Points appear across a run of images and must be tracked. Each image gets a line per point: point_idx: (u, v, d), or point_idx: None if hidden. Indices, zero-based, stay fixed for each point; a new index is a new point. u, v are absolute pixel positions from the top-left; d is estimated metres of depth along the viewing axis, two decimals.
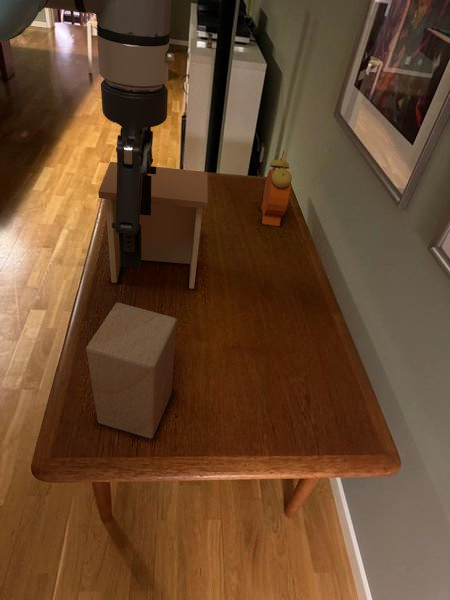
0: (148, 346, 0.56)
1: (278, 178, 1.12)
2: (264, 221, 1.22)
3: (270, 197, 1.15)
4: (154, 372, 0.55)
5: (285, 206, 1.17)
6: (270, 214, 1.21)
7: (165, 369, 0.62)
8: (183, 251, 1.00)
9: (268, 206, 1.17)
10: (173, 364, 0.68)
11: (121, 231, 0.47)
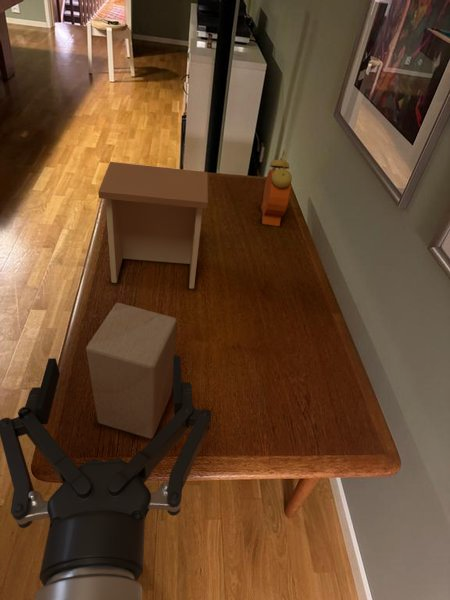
0: (148, 346, 0.56)
1: (278, 178, 1.12)
2: (264, 221, 1.22)
3: (270, 197, 1.15)
4: (154, 372, 0.55)
5: (285, 206, 1.17)
6: (270, 214, 1.21)
7: (165, 369, 0.62)
8: (183, 251, 1.00)
9: (268, 206, 1.17)
10: None
11: None
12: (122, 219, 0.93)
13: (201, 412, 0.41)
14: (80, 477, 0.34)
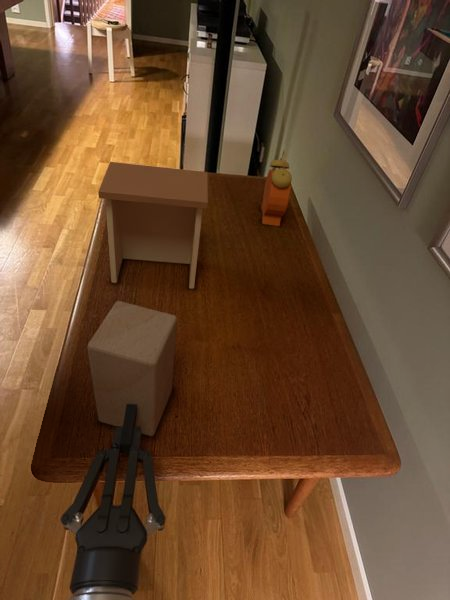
0: (149, 343, 0.56)
1: (278, 178, 1.12)
2: (264, 221, 1.22)
3: (270, 197, 1.15)
4: (155, 369, 0.55)
5: (285, 206, 1.17)
6: (270, 214, 1.21)
7: (166, 367, 0.62)
8: (183, 251, 1.00)
9: (268, 206, 1.17)
10: (173, 362, 0.68)
11: None
12: (122, 219, 0.93)
13: (143, 455, 0.56)
14: (99, 518, 0.48)
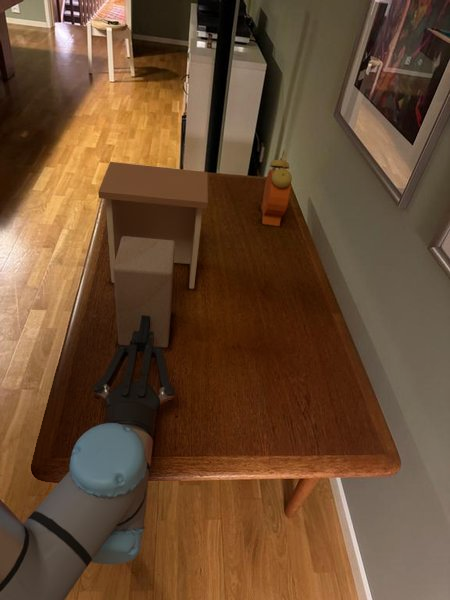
0: (162, 260, 0.70)
1: (278, 178, 1.12)
2: (264, 221, 1.22)
3: (270, 197, 1.15)
4: (171, 279, 0.70)
5: (285, 206, 1.17)
6: (270, 214, 1.21)
7: (172, 283, 0.77)
8: (183, 251, 1.00)
9: (268, 206, 1.17)
10: None
11: None
12: (122, 219, 0.93)
13: (156, 349, 0.69)
14: (123, 387, 0.62)
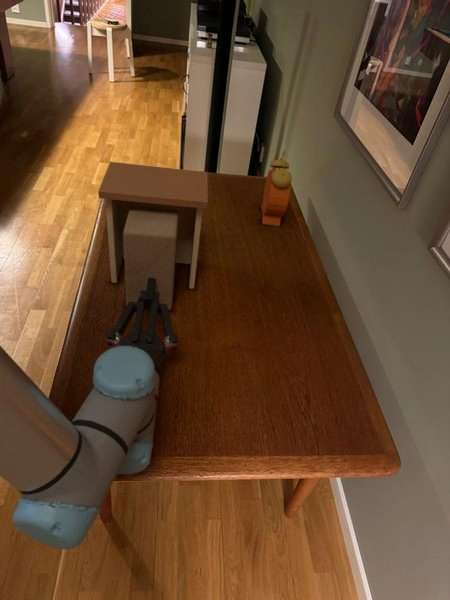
0: (167, 226, 0.78)
1: (278, 178, 1.12)
2: (264, 221, 1.22)
3: (270, 197, 1.15)
4: (175, 242, 0.78)
5: (285, 206, 1.17)
6: (270, 214, 1.21)
7: None
8: (183, 251, 1.00)
9: (268, 206, 1.17)
10: None
11: None
12: (122, 219, 0.93)
13: (161, 306, 0.77)
14: (132, 334, 0.70)
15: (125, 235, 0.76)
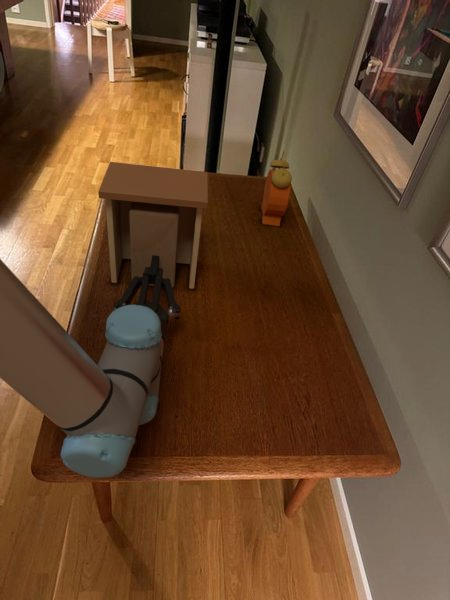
0: (170, 206, 0.84)
1: (278, 178, 1.12)
2: (264, 221, 1.22)
3: (270, 197, 1.15)
4: (178, 221, 0.83)
5: (285, 206, 1.17)
6: (270, 214, 1.21)
7: None
8: (183, 251, 1.00)
9: (268, 206, 1.17)
10: None
11: None
12: (122, 219, 0.93)
13: (165, 280, 0.83)
14: (138, 304, 0.76)
15: (131, 214, 0.81)
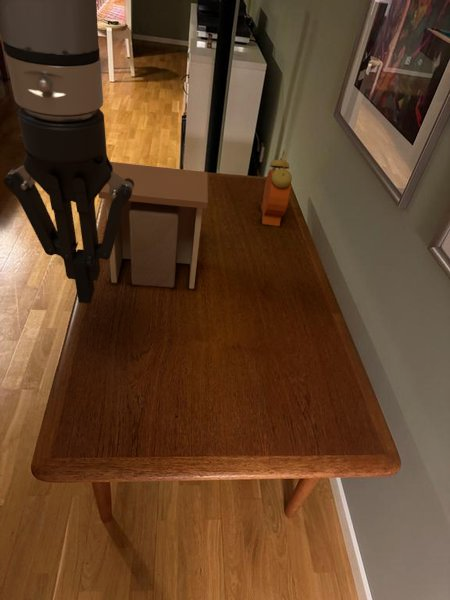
0: (169, 206, 0.84)
1: (278, 178, 1.12)
2: (264, 221, 1.22)
3: (270, 197, 1.15)
4: (177, 221, 0.83)
5: (285, 206, 1.17)
6: (270, 214, 1.21)
7: None
8: (183, 251, 1.00)
9: (268, 206, 1.17)
10: None
11: None
12: (122, 219, 0.93)
13: None
14: None
15: (131, 214, 0.81)
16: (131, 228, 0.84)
